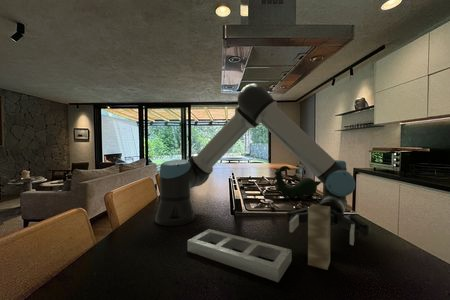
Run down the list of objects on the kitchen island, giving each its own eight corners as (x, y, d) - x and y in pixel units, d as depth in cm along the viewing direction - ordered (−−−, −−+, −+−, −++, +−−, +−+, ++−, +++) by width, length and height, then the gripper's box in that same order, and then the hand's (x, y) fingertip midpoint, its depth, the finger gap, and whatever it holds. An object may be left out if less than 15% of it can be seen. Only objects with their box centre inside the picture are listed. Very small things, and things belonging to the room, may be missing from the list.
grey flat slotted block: (187, 251, 61) (187, 240, 61) (209, 238, 70) (209, 228, 69) (278, 282, 47) (278, 268, 47) (291, 261, 55) (291, 249, 55)
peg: (307, 264, 54) (308, 208, 54) (311, 256, 58) (311, 204, 57) (327, 270, 52) (327, 210, 51) (330, 261, 55) (330, 206, 55)
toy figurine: (279, 203, 117) (326, 199, 118) (276, 167, 117) (323, 163, 117) (275, 199, 127) (318, 195, 127) (272, 166, 126) (315, 161, 127)
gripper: (377, 230, 64) (382, 262, 46) (291, 215, 78) (269, 236, 60) (377, 204, 64) (382, 227, 46) (291, 194, 77) (269, 209, 60)
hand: (319, 232), depth 53 cm, fingers open, 13 cm apart
